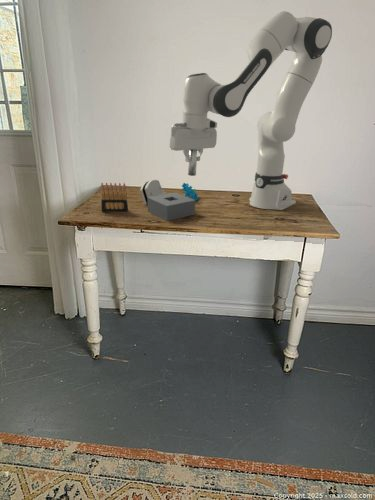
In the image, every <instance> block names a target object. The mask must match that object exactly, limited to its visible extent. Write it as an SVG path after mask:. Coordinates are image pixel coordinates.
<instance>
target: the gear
mask: <svg viewBox="0 0 375 500" xmlns="http://www.w3.org/2000/svg"><path fill="white" fill-rule="evenodd" d="M181 187H182V191H184V195H183V196H186V197H188V198H191V199H193V200H195V202H197V200H199V197H198V193H196V188H193V186H192V185H189V183H185V182H183V183H182V185H181Z"/></svg>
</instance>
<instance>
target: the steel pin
mask: <svg viewBox="0 0 375 500" xmlns="http://www.w3.org/2000/svg"><path fill="white" fill-rule="evenodd" d="M197 152H198V151H197V149H192V150H190V153H189V156H190V157H191V162H188V172H187V175H188V176H192V177H195V176H196V175H197V162H198V161H197Z"/></svg>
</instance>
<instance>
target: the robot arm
mask: <svg viewBox="0 0 375 500" xmlns="http://www.w3.org/2000/svg"><path fill="white" fill-rule="evenodd" d="M332 35H333V27H332V24H331V23H330V22H329V21H328V20H326V19H324V18H320V17H319V18H316V17H311V16H305V17H304V16H303V17H295V16H294V14H293V13H291V12H289V11H285V10H284V11H280V12H278V13H276V15H274V16H273V17H272V18H271V19H269V20H268V21H267V22H266V23H265V24H264V25H263V26H262V27H261V28H260V29H259V30H258V31H257V32H256V33H255V35H254V36H253V37H252V39H251V40H250V42H249V44H248V46H247V49H246V53H247V58H248V60H249V61H248V63H247V65H246V66H245V67H244V68H243V70H242V71H241V72H240V74H238V76H237V77H236V78H235V79H234V80H233V81H231V82H230V83H227V84H221V83H219V82H217V81H215V80H214V79H212V78H211V77H210V76H209V74H208V73H206V72H201V73H193V74H190V75H188V76H187V77H186V79H185V82H184V86H183V87H184V88H183V99H182V100H183V111H182V122H180V123H179V122H177V123H174V124H173V125H172V126H171V130H170V132H171V133H170V137H169V148H170V149H171V150H172V151H182V153H183V154H184V157H185V162H187V163H189V162H191V157H190V156H189V153H190V150H192V149H197V162H200V161H201V156H202V154H203V153H204V149H213V148H215V147H216V145H217V138H218V136H217V135H218V133H217V128H218V123H217V122H216V121H215V120H213V119H211V118H208V113H209V112H211V113H213V114H216V115H220V116H222V117H225V118H232V117H234V116H236V115H238V114H239V113H240V111H241V110H242V109H243V107H244V104H245V102H246V100H247V97H248V96H249V94H250V92H251V91H252V89H253V88H254V87H255V86H256V85H257V84H258V82H259V81H260V80H261V79H262V78H263V76H264V75H265V74H266V72H267V71H269V68H270V67H271V65H272V64H273V63H274V62H275V61H276V60H277V59H278V58H279V57H280V56H281V55H282V53H283V52H284V51H291V52H294V58H293V62H292V63H291V65H290V66H289V68H288V70H287V72H286V74H285V75H284V79H283V80H282V82H281V83H280V86H279V88H278V90H277V92H276V98H275V101H274V106H273V107H272V110H271V111H268V112H266V113H264V114H262V115H261V116H260V117H259V119H258V121H257V125H256V126H257V146H258V147H257V148H258V149H257V150H258V157H257V168H256V172H255V175H254V181H255V182H254V183H253V186H252V189H251V195H250V197H249V199H248V200H249V205H250V206H252V207H254V208H258V209H263V210H277V211H278V210H279V211H283V210H285V209H287V208H289V207H291V206H293V205H296V204H297V201H296V200H295V199H294V198H293V199H292V195H293V194H292V190H291V188H290V187H289V186H288V185H286V183H285V180H288V178H289V175H288V174H285V173H283V172H284V164H285V159H286V157H285V151H284V142H285V143H286V142H287V141H290V140H291V139H292V137H293V136H294V135H295V133H296V124H297V120H298V118H299V115H300V111H301V108H302V107H303V104H304V103H305V100H306V99H307V96H308V94H309V92H310V90H311V88H312V87H313V85H314V82H315V80H316V78H317V76H318V73H319V71H320V69H321V66H322V62H323V54H325V51H326V50H327V48H328V47H329V44H330V42H331V40H332Z"/></svg>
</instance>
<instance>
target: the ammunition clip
mask: <svg viewBox="0 0 375 500" xmlns="http://www.w3.org/2000/svg"><path fill="white" fill-rule="evenodd" d="M100 196H101V197H100V199H101V203H100V204H101V212H102V213H103V212H104V213H106V212H107V213H112V212H113V213H114V212H115V213H117V212H118V213H128V212H129V206H128V194H127V187H126V184H125V182H123V185H122V184H121V183H120V182H119V183H118V187H117V183H116V182H114V185H113V184H112V182H109V184H108V183H107V182H106V183H105V185H104V183H103V182H101V184H100Z"/></svg>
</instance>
